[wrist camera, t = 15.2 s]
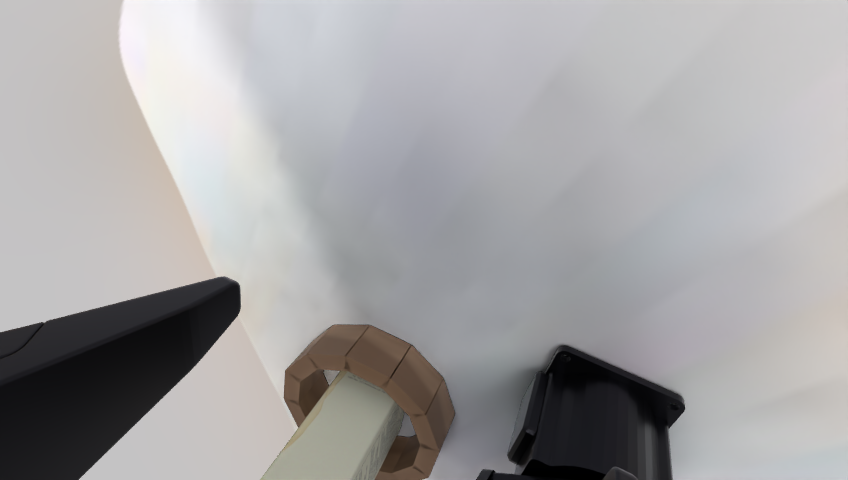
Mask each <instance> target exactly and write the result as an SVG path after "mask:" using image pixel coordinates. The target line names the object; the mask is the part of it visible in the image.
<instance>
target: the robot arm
mask: <svg viewBox="0 0 848 480" xmlns="http://www.w3.org/2000/svg"><path fill="white" fill-rule="evenodd" d="M240 309H241V297H240V285H239V283H238V282H236V281H234V280H232V279H230V278H228V277H218V278H214V279H210V280H206V281H202V282H198V283H194V284H190V285H186V286H183V287H179V288H175V289H170V290H167V291H163V292H159V293H155V294H151V295H147V296H143V297H139V298H136V299H131V300H127V301H123V302H119V303H116V304H112V305H108V306H104V307H100V308H96V309H92V310H88V311H85V312H81V313H77V314H73V315H68V316H65V317H61V318H57V319H53V320H49V321H46V322H45V323H43V322H41V323H37V324H33V325H29V326H25V327H21V328H17V329H13V330H8V331H4V332H0V480H79V479H80V478H81V477H82V476H83V475H84V474H85V473H86V472H87V471H88V470H89V469H90V468H91V467H92V466H93V465H94V464H95V463H96V462H97V461H98V460H99V459H100V458H101V457H102V456H103V455H104V454H105V453H106V452H107V451H108V450H109V449H110V448H112V447H113V446H114V445H115V444H116V443H117V442H118V441H119V440H120V439H121V438H122V437H123V436H124V435H125V434H126V433H127V432H128V431H129V430H130V429H131V428H132V427H133V426H134V425H135V424H136V423H137V422H138V421H139V420H140V419H141V418H142V417H143V416H144V415H145V414H146V413H148V412H149V411H150V409H152V408H153V407H154V406H155V405H156V404H157V403H158V402H159V401H160V400H161V399H162V398H163V397H164V396H165V395H166V394H167V393H168V392H169V391H170V390H171V389H172V388H173V387H174V386H175V385H176V384H177V383H178V382H179V381H180V380H181V379H182V378H183V377H184V376H185V375H187V374H188V373H189V372H190V371H191V370H192V368H193V367H194V366H195V365H196V364H197V363H198V362H199V361H200V360H201V359H202V358H203V356H204V355H205V354H206V353H207V352H208V350H209V349H210V348H211V347H212V346H213V345H214V343H215V342H216V341H217V340H218V339H219V337H220V336H221V335H222V334H223V333H224V332H225V330H226V329H227V328H228V327H229V325H230V324H231V323H232V322H233V321H234V320H235V318H236V317H237V316H238V314H239V312H240ZM563 355H568V356H569V357H564V356H563ZM670 403H676V404H675V405H673V404H670ZM684 410H685V403H684V399H683V398H682V397H681V396H680V395H678V394H676V393H673V392H671V391H669V390H667V389H664V388H662V387H660V386H658V385H655V384H653V383H651V382H648V381H646V380H644V379H642V378H639V377H637V376H635V375H632V374H630V373H628V372H626V371H623V370H621V369H619V368H617V367H614V366H612V365H610V364H607V363H605V362H603V361H601V360H598V359H596V358H594V357H591V356H589V355H587V354H585V353H582V352H580V351H578V350H576V349H573V348H571V347H568V346H561V347H559V348H558V349H557V351H556V353H555V354H554V356H553V358H552V360H551V362H550V364H549V366H548V367H547V369H546V371H545V373H544V372H542V371H541V372H538V373H536V375H535V376H534V378H533V380H532V382H531V384H530V386H529V388H528V390H527V392H526V393H525V395H524V397H523V399H522V402H521V406H520V410H519V413H518V417H517V421H516V424H515V428H514V432H513V435H512V439H511V442H510V446H509V450H508V453H507V456H508V458H509V461H511V462H513V463H515V464H517V465H516V469H515V473H514V474H506V473H495V471H494V470H486V469H483V470H482V471H481V473H480V474H479V476H478V477H477V479H476V480H673V477H672V465H671V453H670V441H669V428H670V427H671V426H672V425H673V423H674V422H675V421H676V420H677V419H678V418H679V416H680V415H681V414H682V413H683V412H684Z"/></svg>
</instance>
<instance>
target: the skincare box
mask: <svg viewBox="0 0 848 480" xmlns="http://www.w3.org/2000/svg"><path fill="white" fill-rule="evenodd" d="M403 415H404V410H403V409H402V408H401V407H400V406H399V405H398V404H397V403H396V402H395V401H394V400H393V399H392V398H391V397H390V396H389V395H388V394H387V393H386V392H385V391H384V390H383V389H382V388H380V387H378V386H376V385H374V384H372V383H370V382H368V381H366V380H364V379H362V378H360V377H358V376H356V375H354V374H353V373H351V372H349V371H340V373H339V374H338V375H337V377H336V378H335V379H334V381H333V382H332V383H331V385H330V386H329V387H328V389H327V390H326V391H325V393H324V394H323V396H322V397H321V398H320V400H319V401H318V402H317V404H316V405H315V406H314V408H313V409H312V411H311V412H310V413H309V415H308V416H307V417H306V419H305V420H304V421H303V423H302V424H301V425H300V427H299V428H298V429H297V431H296V432H295V434H294V435H293V436H292V438H291V439H290V440H289V442H288V443H287V444H286V446H285V447H284V449H283V450H282V451H281V452H280V454H279V455H278V456H277V458H276V459H275V460H274V462H273V463H272V464H271V466H270V467H269V468H268V470H267V471H266V473H265V474H264V475H263V477H262V478H261V479H260V480H374V479H375V477H376V475H377V474H378V472H379V470H380V468H381V466H382V464H383V462H384V460H385V458H386V456H387V454H388V452H389V450H390V448H391V446H392V444H393V442H394V440H395V438H396V436H397V434H398V432H399V430H400V428H401V424H402V420H403Z"/></svg>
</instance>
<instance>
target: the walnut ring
mask: <svg viewBox="0 0 848 480" xmlns="http://www.w3.org/2000/svg"><path fill="white" fill-rule="evenodd" d="M323 370H338V371H349V372H351V373H353V374H354V375H356V376H358V377H360V378H362V379H364V380H366V381H368V382H370V383H372V384H374V385H376V386H378V387H380V388H382V389H383V390H384V391H385V392H386V393H387V394H388V395H389V396H390V397H391V398H392V399H393V400H394V401H395V402H396V403H397V404H398V405H399V406H400V407H401V408H402V409H403V410H404V411H405V412H406V414H407V415H408V416H409V417H410V419H411V422H412V425H413V427H414V430H415V433H416V435H414V436H412V437H410V438H409V437H402V436H396V438H395V440H394V442H393V444H392V446H391V448H390V450H389V452H388V454H387V456H386V458H385V460H384V462H383V464H382V466H381V468H380V470H379V472H378V474H377V475H376V477H375V479H374V480H422V479H425V478H428V477H429V476H430V473H431V471H432V468H433V466H434V464H435V461H436V459H437V457H438V454H439V452H440V450H441V447H442V445H443V443H444V440H445V438H446V435H447V433H448V430H449V428H450V425H451V423H452V421H453V418H454V416H455V411H454V408H453V405H452V402H451V399H450V396H449V393H448V390H447V387H446V384H445V381H444V379H443V377H442V376H441V375H440V374H439V373H438V372H437V371H436V370H435V369H434V368H433V367H432V366H431V365H430V364H429V363H428V362H427V360H426V359H425V358H424V357H423V356H422V355H421V354H420V353H419V352H418V351H417V350H416V349H415V348H414V347H413V346H411V344H409V343H407V342H405V341H402V340H400V339H398V338H396V337H394V336H392V335H390V334H388V333H386V332H384V331H382V330H379V329H377V328H375V327H373V326H371V325H370V326H369V325H332V326H331V327H330V328H329V329H327V330H326V331H325V332H324V333H322V334H321V335H320V336H318V337H317V338H316V339H315V340H313V341H312V342H311V343H310V344H309V346H308V347H307V348H306V349H305V350H304V351H303V352H302V353H301V354H300V355H299V356H298V357H297V358H296V359H295V361H294V362H293V363H292V364H291V365H290V366H289V367H288V368H287V369H286V371H285V385H284V400H285V402H286V404H287V406H288V408H289V410H290V412H291V414H292V416H293V418H294V420H295V422H296V424H297V426H298V428H299V427H300V425H301V424H302V423H303V421H304V420H305V419H306V417H307V416H308V415H309V413H310V412H311V411H312V409H313V408H314V406H315V405H316V404H317V402H318V401H319V400H320V398H321V397H322V396H323V394H324V393H325V391H326V390H327V389H328V387H329V385H328V383H327V381H326V379H325V376H324V374H323Z"/></svg>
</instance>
